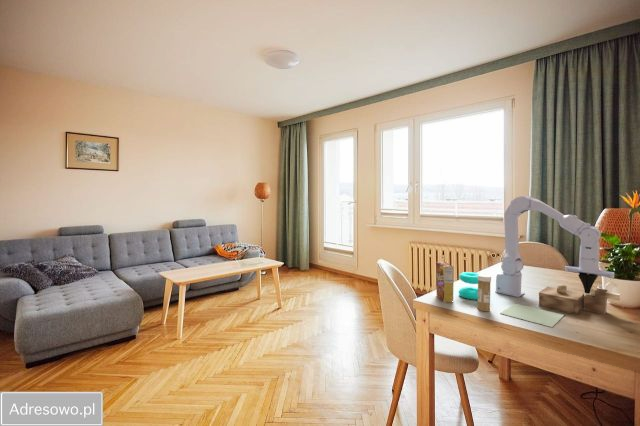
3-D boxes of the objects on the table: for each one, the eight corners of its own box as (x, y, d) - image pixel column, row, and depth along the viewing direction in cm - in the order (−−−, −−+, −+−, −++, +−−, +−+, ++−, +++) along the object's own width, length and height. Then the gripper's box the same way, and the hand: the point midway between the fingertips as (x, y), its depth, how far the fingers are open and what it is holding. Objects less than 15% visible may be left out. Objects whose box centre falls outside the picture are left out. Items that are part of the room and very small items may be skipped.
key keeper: (583, 309, 121) (584, 288, 120) (585, 307, 123) (586, 286, 123) (604, 314, 116) (605, 291, 116) (606, 311, 119) (607, 289, 118)
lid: (538, 295, 124) (539, 284, 124) (547, 289, 132) (547, 279, 132) (577, 303, 115) (577, 292, 115) (584, 296, 123) (584, 285, 123)
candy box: (435, 295, 138) (436, 261, 137) (445, 295, 138) (445, 261, 137) (443, 302, 129) (443, 266, 128) (453, 302, 129) (454, 266, 128)
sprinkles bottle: (490, 312, 119) (491, 277, 118) (476, 310, 121) (477, 275, 120) (490, 308, 123) (491, 274, 122) (477, 306, 125) (478, 273, 124)
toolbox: (538, 306, 125) (539, 295, 124) (547, 299, 133) (547, 289, 132) (577, 315, 116) (577, 303, 115) (584, 307, 123) (584, 296, 123)
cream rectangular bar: (590, 295, 120) (590, 290, 120) (591, 294, 121) (591, 289, 121) (619, 300, 114) (619, 295, 114) (619, 299, 115) (620, 293, 115)
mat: (500, 313, 117) (500, 313, 117) (515, 304, 127) (515, 303, 127) (552, 327, 105) (552, 326, 105) (564, 315, 115) (564, 314, 115)
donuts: (471, 278, 130) (454, 272, 139) (471, 301, 131) (453, 294, 140) (490, 275, 133) (471, 270, 143) (489, 298, 134) (470, 292, 143)
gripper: (616, 259, 118) (614, 295, 118) (567, 254, 129) (566, 286, 129) (613, 262, 113) (611, 299, 114) (563, 256, 124) (562, 290, 125)
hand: (587, 292), depth 121 cm, fingers closed
